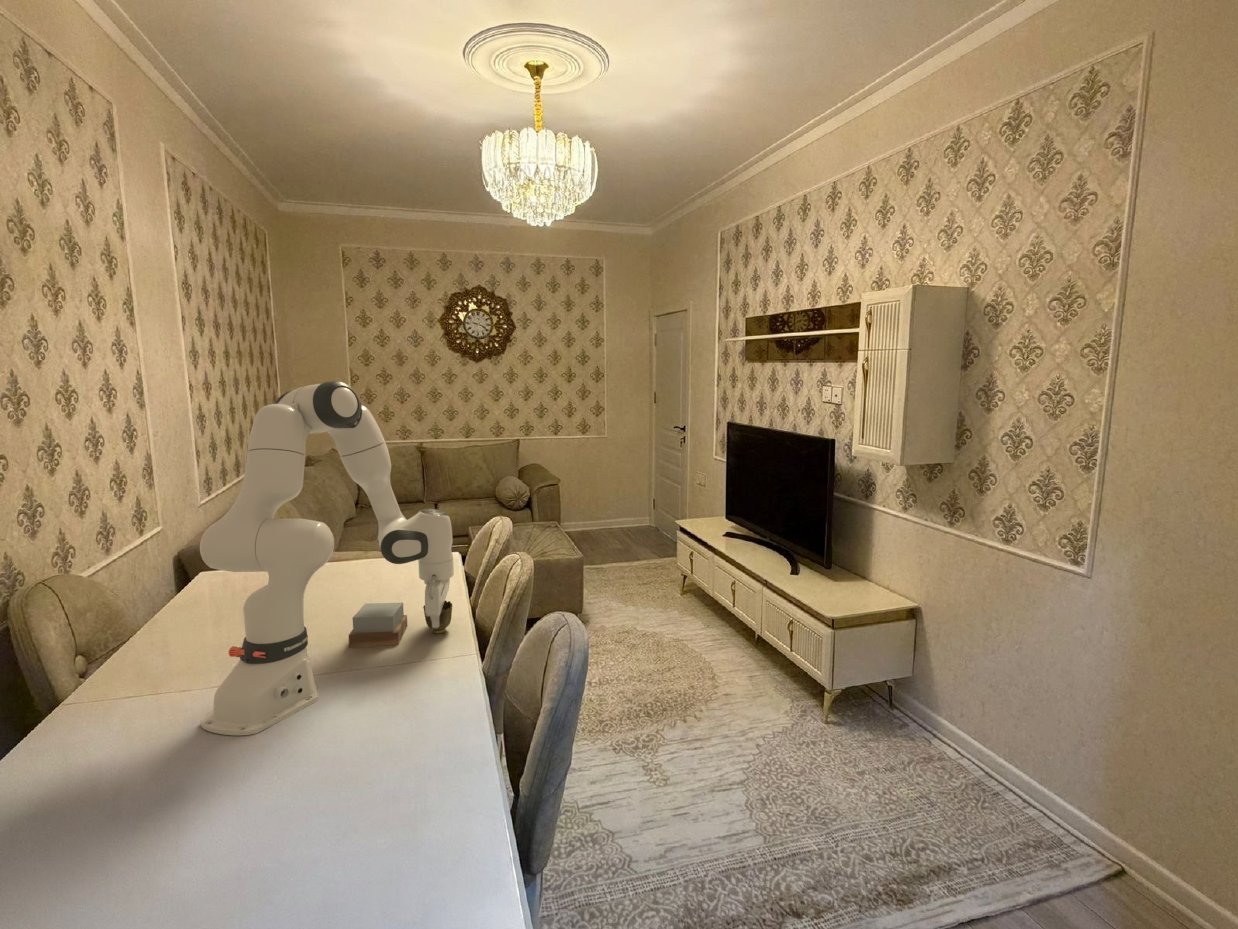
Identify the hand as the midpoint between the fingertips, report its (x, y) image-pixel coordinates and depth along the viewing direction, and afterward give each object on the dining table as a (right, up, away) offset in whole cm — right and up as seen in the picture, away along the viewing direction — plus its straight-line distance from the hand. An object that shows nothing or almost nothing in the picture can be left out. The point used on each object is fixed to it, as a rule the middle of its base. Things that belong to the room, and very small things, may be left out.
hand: (438, 620), depth 169 cm
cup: (0, -4, +1) cm, 4 cm away
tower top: (-15, -1, -2) cm, 15 cm away
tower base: (-15, -5, -2) cm, 16 cm away
